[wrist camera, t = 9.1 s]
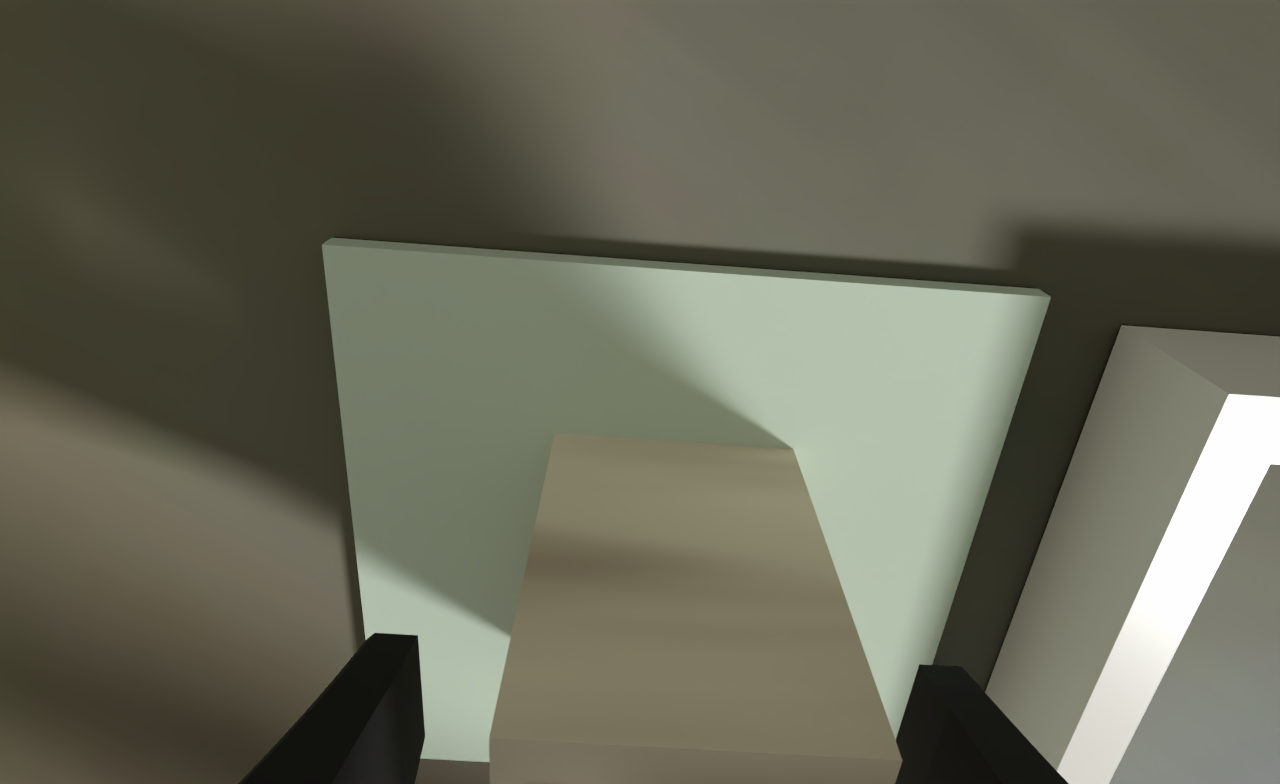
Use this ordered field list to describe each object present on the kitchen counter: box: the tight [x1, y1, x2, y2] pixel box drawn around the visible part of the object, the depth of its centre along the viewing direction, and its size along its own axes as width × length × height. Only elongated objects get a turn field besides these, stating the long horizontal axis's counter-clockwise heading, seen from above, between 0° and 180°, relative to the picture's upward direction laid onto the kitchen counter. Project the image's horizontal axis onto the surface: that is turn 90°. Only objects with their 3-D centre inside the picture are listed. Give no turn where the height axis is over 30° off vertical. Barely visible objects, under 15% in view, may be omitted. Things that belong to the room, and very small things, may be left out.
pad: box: [322, 238, 1051, 762], centre depth 14 cm, size 11×11×1 cm
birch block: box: [489, 433, 903, 784], centre depth 11 cm, size 5×4×6 cm
